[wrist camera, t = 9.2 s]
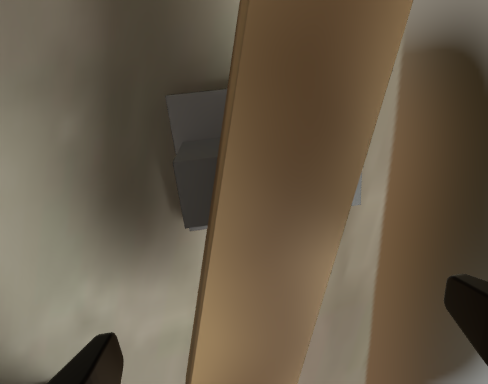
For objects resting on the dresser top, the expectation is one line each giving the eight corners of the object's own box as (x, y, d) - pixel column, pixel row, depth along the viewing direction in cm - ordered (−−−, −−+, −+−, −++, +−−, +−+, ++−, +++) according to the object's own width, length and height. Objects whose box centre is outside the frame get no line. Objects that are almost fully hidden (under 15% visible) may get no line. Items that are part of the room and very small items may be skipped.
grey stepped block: (190, 222, 20) (183, 277, 14) (168, 95, 17) (147, 99, 11) (324, 204, 20) (368, 250, 15) (323, 78, 17) (377, 74, 12)
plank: (185, 375, 16) (178, 465, 12) (263, -162, 9) (300, -336, 5) (258, 377, 17) (273, 463, 13) (382, -124, 10) (490, -256, 6)
